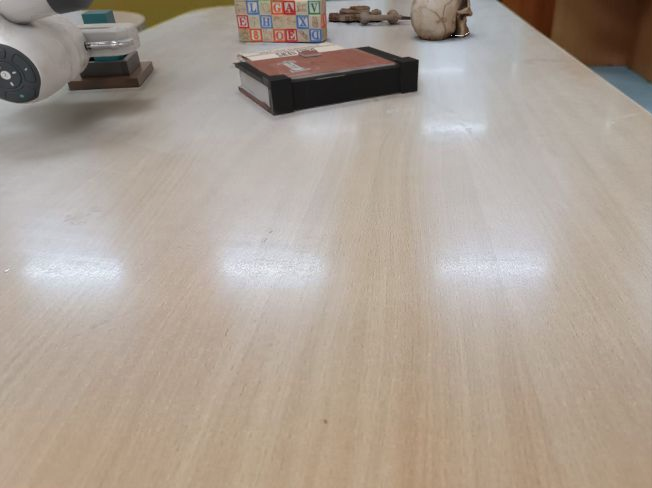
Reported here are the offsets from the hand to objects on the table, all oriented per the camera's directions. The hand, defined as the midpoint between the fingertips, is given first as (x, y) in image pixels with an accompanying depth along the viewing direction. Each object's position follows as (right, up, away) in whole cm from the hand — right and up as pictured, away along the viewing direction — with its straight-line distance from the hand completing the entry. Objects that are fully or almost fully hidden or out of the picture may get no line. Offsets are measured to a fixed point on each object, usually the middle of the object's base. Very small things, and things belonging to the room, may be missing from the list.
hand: (81, 31), depth 83 cm
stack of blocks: (+26, +19, +45) cm, 55 cm away
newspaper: (+31, +6, +25) cm, 40 cm away
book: (+40, -8, +5) cm, 41 cm away
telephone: (+52, +34, +67) cm, 91 cm away
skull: (+66, +21, +47) cm, 84 cm away
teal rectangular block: (-1, -1, +13) cm, 13 cm away
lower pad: (-1, -2, +14) cm, 14 cm away
